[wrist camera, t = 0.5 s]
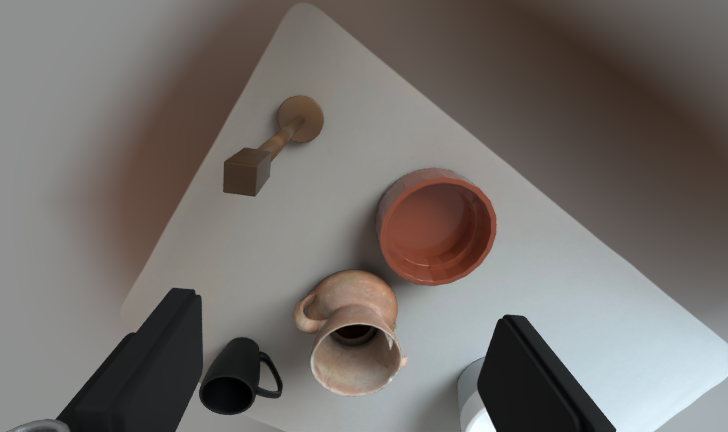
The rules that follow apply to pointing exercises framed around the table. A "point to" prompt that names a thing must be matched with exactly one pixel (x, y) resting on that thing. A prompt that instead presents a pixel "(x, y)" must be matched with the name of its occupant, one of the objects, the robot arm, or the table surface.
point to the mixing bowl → (435, 226)
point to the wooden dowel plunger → (272, 146)
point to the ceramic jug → (352, 332)
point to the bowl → (472, 401)
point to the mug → (236, 378)
